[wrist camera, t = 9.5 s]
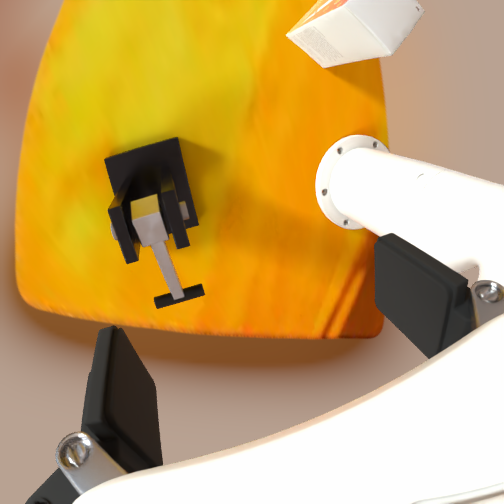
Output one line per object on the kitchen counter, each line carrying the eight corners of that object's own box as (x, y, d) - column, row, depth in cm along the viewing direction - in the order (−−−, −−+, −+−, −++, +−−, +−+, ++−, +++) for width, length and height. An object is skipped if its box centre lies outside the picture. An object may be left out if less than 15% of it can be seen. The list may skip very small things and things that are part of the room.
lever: (201, 283, 32) (207, 302, 31) (155, 297, 31) (159, 316, 30) (174, 188, 23) (179, 206, 22) (113, 206, 22) (113, 226, 21)
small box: (319, -3, 28) (384, -37, 17) (355, 30, 31) (427, 11, 19) (283, 35, 29) (343, 3, 18) (322, 70, 32) (393, 57, 21)
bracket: (197, 222, 36) (218, 272, 24) (131, 241, 34) (121, 300, 23) (177, 136, 31) (186, 144, 20) (105, 157, 30) (76, 178, 19)
